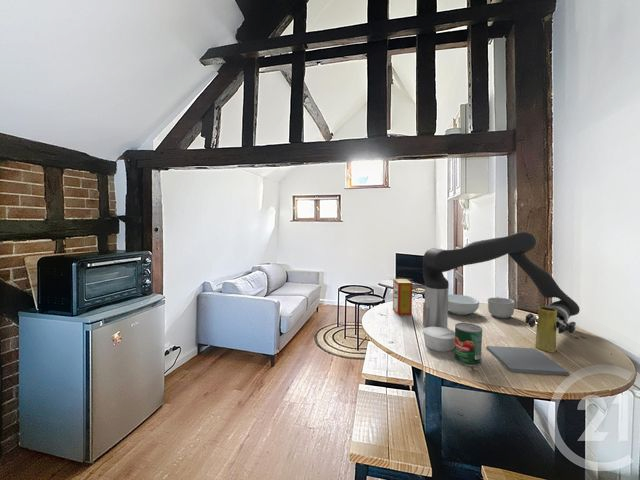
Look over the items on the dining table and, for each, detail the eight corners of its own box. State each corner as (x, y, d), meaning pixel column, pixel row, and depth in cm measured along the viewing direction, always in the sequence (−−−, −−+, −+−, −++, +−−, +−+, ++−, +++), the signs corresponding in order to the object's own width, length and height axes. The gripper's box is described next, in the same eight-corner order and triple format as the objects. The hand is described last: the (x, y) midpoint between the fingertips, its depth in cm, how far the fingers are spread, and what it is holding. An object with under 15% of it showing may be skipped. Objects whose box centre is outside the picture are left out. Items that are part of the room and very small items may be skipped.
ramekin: (454, 356, 97) (455, 340, 97) (419, 349, 103) (420, 334, 102) (457, 344, 107) (457, 330, 107) (425, 338, 112) (425, 324, 112)
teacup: (514, 321, 131) (514, 304, 130) (486, 317, 137) (487, 300, 136) (513, 313, 143) (513, 297, 142) (487, 309, 149) (488, 294, 148)
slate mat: (510, 371, 87) (510, 368, 87) (486, 348, 103) (486, 345, 103) (568, 375, 85) (569, 371, 85) (535, 351, 101) (535, 348, 101)
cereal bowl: (437, 313, 142) (437, 299, 141) (444, 305, 156) (444, 292, 155) (476, 320, 132) (476, 305, 132) (480, 311, 146) (481, 297, 145)
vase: (560, 352, 100) (562, 311, 99) (540, 351, 101) (542, 310, 100) (550, 345, 106) (552, 306, 105) (531, 344, 107) (533, 305, 106)
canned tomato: (452, 362, 93) (453, 328, 92) (455, 352, 100) (456, 321, 99) (480, 368, 89) (481, 333, 88) (481, 358, 95) (483, 325, 95)
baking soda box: (411, 315, 140) (412, 282, 139) (397, 315, 140) (398, 282, 139) (405, 309, 149) (406, 278, 148) (392, 309, 149) (393, 278, 148)
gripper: (532, 303, 117) (521, 312, 106) (580, 312, 107) (572, 322, 96) (531, 322, 118) (520, 332, 107) (578, 332, 107) (571, 344, 96)
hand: (545, 327), depth 101 cm, fingers open, 7 cm apart
